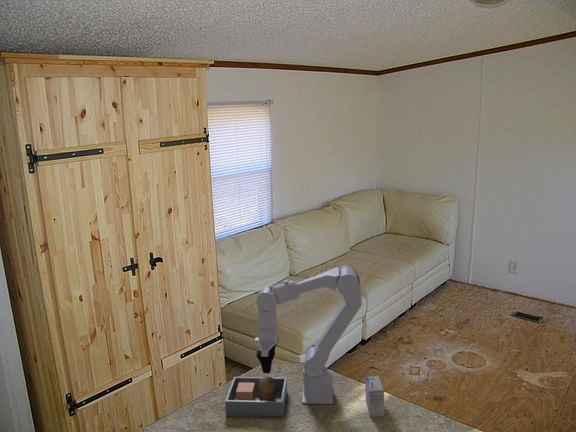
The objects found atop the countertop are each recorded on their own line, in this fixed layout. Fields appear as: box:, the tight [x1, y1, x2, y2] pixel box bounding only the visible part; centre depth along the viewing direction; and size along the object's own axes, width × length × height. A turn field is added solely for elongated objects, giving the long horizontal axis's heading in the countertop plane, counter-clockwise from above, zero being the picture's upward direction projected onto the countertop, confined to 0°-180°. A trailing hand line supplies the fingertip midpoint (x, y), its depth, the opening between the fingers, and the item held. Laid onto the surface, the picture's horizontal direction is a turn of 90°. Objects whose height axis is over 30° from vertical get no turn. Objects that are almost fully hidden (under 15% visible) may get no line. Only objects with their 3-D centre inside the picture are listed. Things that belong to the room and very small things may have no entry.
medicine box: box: [365, 375, 385, 418], centre depth 137 cm, size 8×4×9 cm, turn 179°
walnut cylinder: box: [259, 376, 276, 401], centre depth 142 cm, size 5×5×7 cm
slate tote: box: [224, 376, 288, 419], centre depth 142 cm, size 17×13×5 cm
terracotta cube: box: [236, 382, 255, 401], centre depth 143 cm, size 5×5×5 cm
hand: (268, 366), depth 144 cm, fingers open, 7 cm apart
